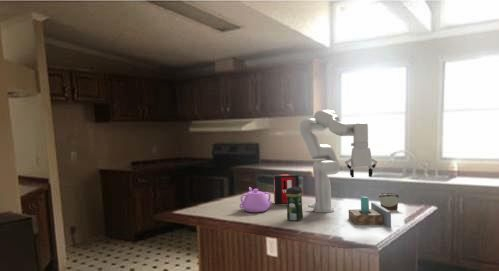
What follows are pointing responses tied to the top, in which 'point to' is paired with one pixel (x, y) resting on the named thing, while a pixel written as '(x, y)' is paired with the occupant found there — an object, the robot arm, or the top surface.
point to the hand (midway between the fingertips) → (361, 176)
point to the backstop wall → (383, 211)
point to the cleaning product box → (284, 186)
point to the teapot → (255, 201)
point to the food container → (389, 200)
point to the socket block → (366, 217)
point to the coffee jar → (294, 203)
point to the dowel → (364, 205)
